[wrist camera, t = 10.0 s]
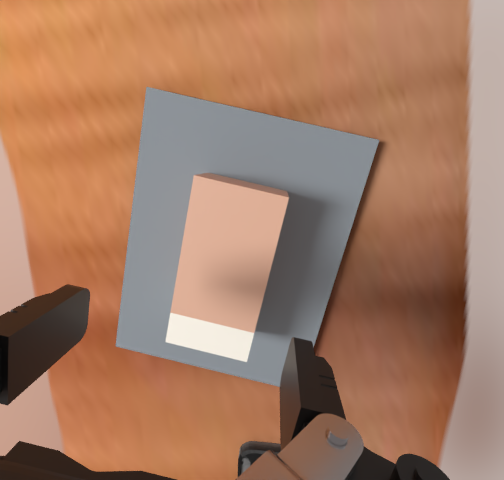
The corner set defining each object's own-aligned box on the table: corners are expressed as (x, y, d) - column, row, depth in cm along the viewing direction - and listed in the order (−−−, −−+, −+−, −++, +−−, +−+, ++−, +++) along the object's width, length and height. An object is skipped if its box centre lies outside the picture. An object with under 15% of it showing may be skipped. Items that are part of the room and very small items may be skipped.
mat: (299, 385, 23) (299, 391, 23) (119, 341, 23) (115, 346, 23) (376, 140, 18) (379, 140, 18) (150, 89, 19) (146, 87, 18)
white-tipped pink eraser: (208, 172, 19) (193, 175, 16) (286, 190, 19) (288, 197, 16) (182, 313, 22) (165, 342, 18) (251, 330, 22) (246, 362, 18)
